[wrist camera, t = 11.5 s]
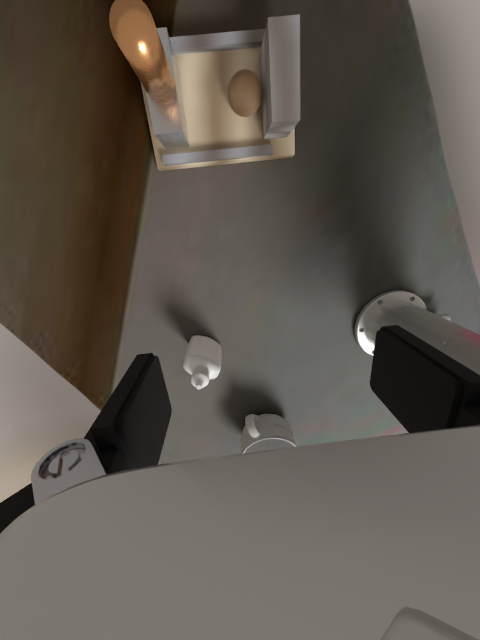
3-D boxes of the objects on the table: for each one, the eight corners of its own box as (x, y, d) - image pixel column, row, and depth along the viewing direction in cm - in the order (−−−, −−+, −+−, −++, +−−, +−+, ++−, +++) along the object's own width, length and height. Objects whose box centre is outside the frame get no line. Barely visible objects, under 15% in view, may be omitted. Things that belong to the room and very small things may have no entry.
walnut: (255, 80, 30) (265, 60, 26) (258, 121, 31) (268, 107, 27) (222, 81, 29) (228, 60, 25) (227, 122, 30) (232, 109, 27)
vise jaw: (177, 62, 28) (139, -65, 16) (189, 146, 31) (166, 96, 19) (150, 65, 28) (91, -61, 15) (165, 148, 31) (126, 100, 19)
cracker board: (290, 38, 29) (310, -18, 22) (291, 157, 34) (309, 141, 27) (137, 52, 29) (110, 0, 22) (160, 170, 33) (143, 158, 27)
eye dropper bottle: (204, 326, 42) (197, 364, 31) (224, 349, 44) (225, 392, 33) (185, 340, 43) (171, 382, 32) (205, 362, 45) (199, 408, 34)
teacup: (294, 436, 54) (306, 471, 46) (246, 450, 54) (250, 486, 47) (279, 387, 48) (289, 417, 41) (226, 402, 49) (227, 435, 42)
